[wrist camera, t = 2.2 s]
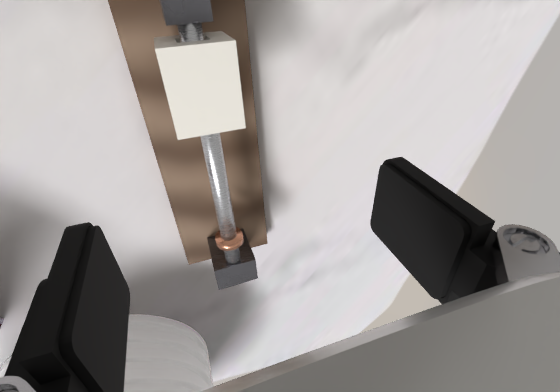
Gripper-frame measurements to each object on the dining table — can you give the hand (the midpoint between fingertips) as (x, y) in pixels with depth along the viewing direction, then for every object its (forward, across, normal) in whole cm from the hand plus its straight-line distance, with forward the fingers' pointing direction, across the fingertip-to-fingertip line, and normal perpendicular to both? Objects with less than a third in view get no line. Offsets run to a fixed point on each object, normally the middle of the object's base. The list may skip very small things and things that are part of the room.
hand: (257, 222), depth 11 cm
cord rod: (+21, 0, +7) cm, 22 cm away
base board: (+22, 0, +6) cm, 23 cm away
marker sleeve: (+19, 0, -1) cm, 19 cm away
